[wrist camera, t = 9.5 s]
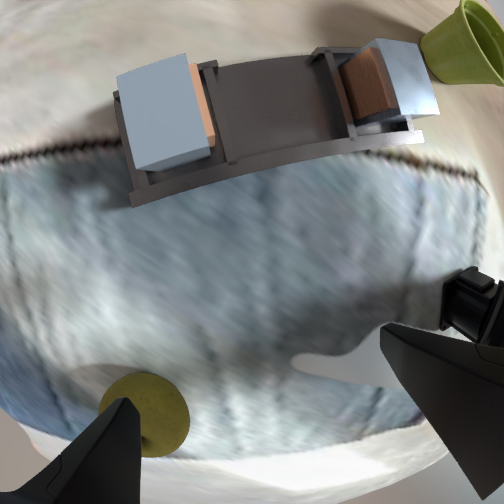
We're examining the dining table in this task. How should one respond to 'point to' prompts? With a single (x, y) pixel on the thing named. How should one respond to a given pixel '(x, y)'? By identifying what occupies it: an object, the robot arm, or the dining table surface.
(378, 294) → the dining table surface
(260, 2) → the dining table surface
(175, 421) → the apple
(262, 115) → the rail
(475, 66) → the plant pot
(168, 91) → the block
